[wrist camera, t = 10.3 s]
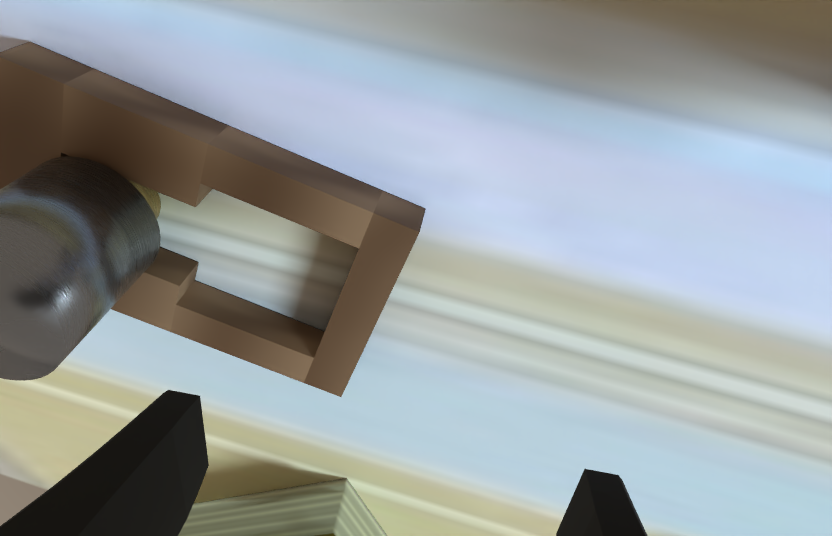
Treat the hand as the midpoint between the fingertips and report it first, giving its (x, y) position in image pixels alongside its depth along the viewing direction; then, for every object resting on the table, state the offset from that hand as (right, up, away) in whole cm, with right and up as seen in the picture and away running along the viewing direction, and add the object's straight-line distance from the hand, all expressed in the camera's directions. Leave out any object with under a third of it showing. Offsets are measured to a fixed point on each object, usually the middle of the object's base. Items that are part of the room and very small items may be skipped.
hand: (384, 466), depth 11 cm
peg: (-10, +6, +9) cm, 15 cm away
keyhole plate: (-7, +5, +10) cm, 13 cm away
